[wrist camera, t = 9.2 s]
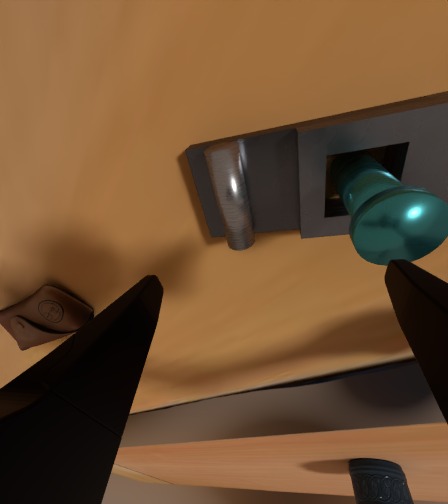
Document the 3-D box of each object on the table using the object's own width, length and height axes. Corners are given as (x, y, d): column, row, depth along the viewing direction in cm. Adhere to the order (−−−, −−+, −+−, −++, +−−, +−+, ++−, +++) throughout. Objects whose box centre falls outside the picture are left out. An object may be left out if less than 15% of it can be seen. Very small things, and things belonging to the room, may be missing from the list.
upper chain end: (521, 195, 17) (601, 235, 13) (297, 219, 21) (304, 257, 17) (598, 59, 13) (758, 56, 9) (293, 123, 17) (302, 142, 13)
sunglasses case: (42, 282, 31) (39, 334, 29) (94, 285, 37) (95, 329, 34) (-10, 314, 39) (-16, 357, 37) (40, 313, 45) (37, 350, 42)
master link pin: (374, 189, 19) (437, 262, 12) (321, 196, 20) (350, 267, 13) (384, 136, 16) (468, 188, 10) (323, 147, 17) (359, 201, 11)
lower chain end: (398, 208, 19) (422, 235, 16) (214, 229, 23) (206, 253, 20) (425, 96, 15) (465, 103, 12) (190, 145, 19) (175, 160, 16)
